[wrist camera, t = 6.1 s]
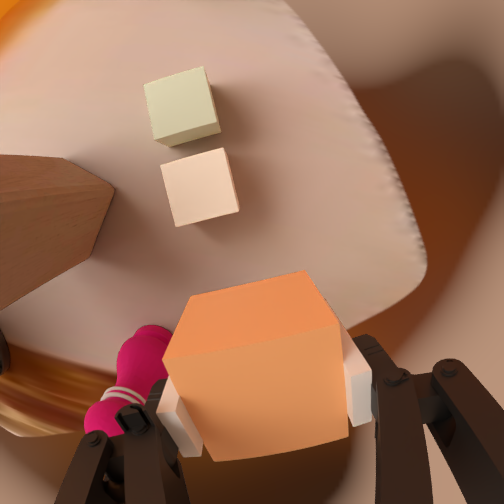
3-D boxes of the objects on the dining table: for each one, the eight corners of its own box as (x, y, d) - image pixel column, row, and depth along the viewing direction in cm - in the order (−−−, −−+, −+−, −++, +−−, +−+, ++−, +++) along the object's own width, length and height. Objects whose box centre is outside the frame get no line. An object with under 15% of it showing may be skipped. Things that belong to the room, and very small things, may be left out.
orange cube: (221, 385, 16) (214, 461, 11) (190, 296, 15) (161, 359, 9) (320, 364, 16) (348, 436, 10) (304, 270, 15) (339, 322, 9)
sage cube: (169, 147, 31) (154, 140, 25) (159, 99, 29) (143, 84, 24) (221, 132, 31) (216, 121, 25) (210, 85, 29) (203, 66, 23)
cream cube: (187, 219, 33) (175, 227, 27) (174, 168, 31) (160, 165, 25) (239, 206, 32) (238, 211, 27) (226, 153, 31) (223, 147, 25)
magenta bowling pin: (146, 310, 35) (74, 419, 15) (192, 343, 36) (158, 469, 17) (122, 345, 36) (55, 450, 17) (165, 375, 37) (124, 491, 18)
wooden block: (61, 155, 30) (-61, 150, 11) (120, 187, 31) (-3, 201, 12) (38, 225, 32) (-75, 262, 12) (91, 260, 33) (-17, 328, 14)
